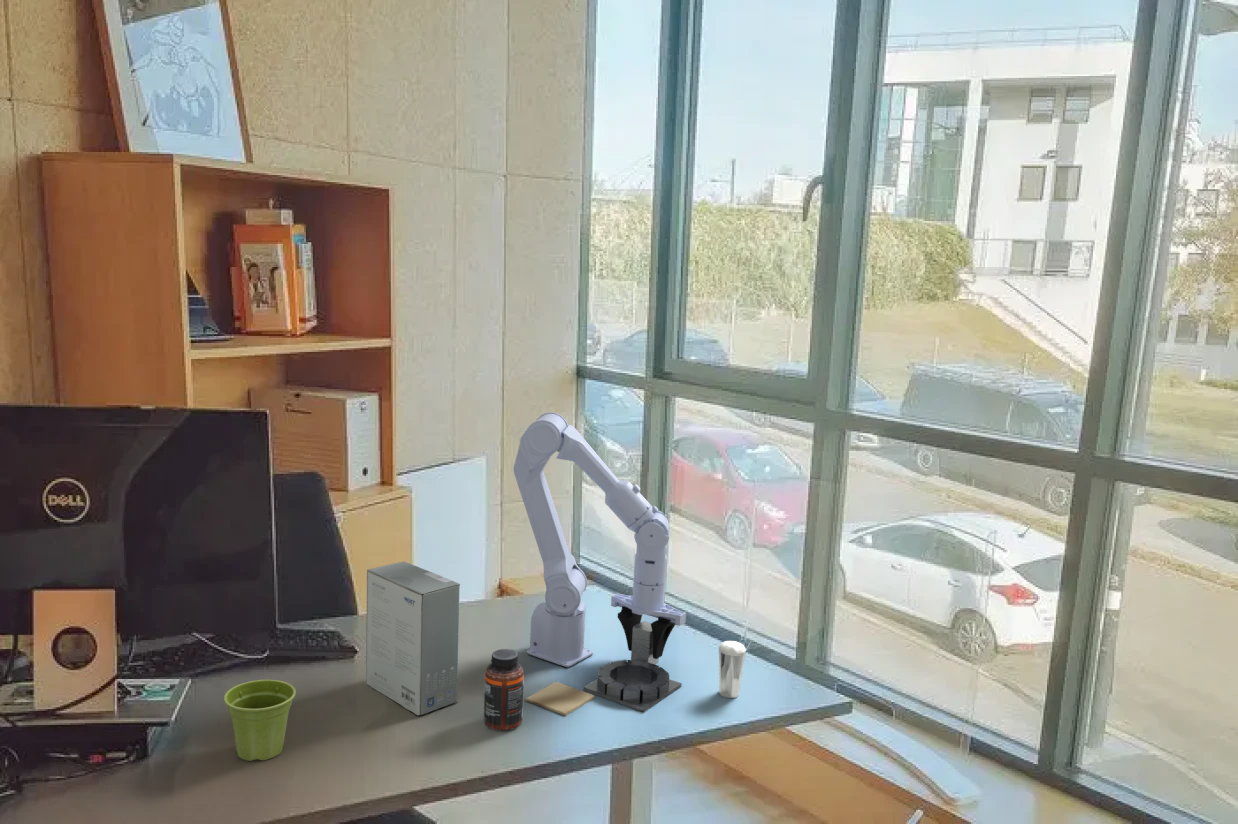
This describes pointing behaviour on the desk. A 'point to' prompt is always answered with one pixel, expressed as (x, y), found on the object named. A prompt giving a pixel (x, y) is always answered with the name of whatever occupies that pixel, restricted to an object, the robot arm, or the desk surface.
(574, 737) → the desk surface
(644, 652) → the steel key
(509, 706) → the supplement bottle
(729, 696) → the milkshake
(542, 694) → the cork pad
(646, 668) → the dark grey collar
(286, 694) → the plant pot
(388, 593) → the hard drive box
